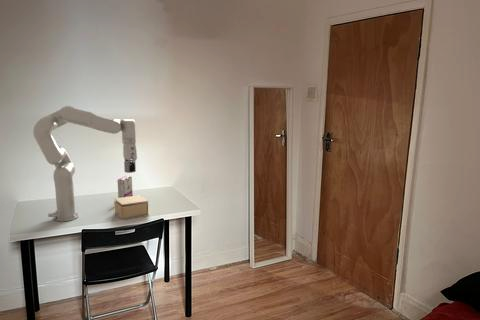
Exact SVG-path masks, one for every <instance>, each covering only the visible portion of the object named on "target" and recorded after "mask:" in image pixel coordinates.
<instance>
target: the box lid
mask: <svg viewBox="0 0 480 320" xmlns="http://www.w3.org/2000/svg"><path fill="white" fill-rule="evenodd" d="M115 201H117V202H118V203H119V204H121V205H122V206H123V205H130V204H138V203H145V202H148V203H149V200H148V199H146V198H145V197H143V196H142V195H140V194H139V195H133V196H130V197H122V198H118V197H116V198H115V197H114V202H115Z"/></svg>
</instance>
